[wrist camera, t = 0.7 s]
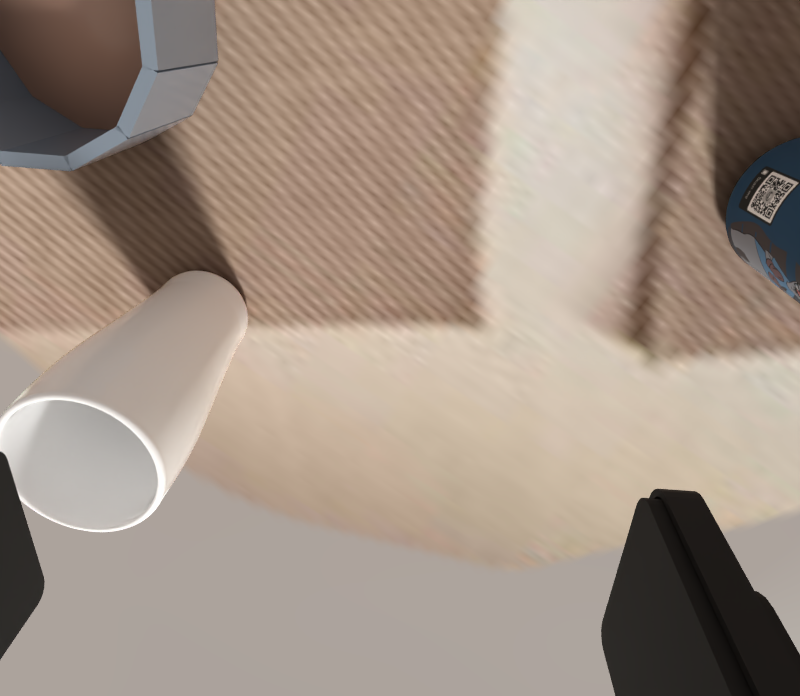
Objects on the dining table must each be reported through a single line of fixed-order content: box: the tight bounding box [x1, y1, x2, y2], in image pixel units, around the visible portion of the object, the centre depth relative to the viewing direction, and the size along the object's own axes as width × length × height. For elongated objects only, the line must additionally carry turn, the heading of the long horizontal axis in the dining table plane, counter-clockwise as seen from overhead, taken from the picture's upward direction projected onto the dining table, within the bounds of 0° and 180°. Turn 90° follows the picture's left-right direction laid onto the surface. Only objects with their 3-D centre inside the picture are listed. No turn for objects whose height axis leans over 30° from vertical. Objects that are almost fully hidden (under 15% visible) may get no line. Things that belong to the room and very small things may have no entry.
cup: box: [0, 0, 218, 171], centre depth 27 cm, size 11×11×8 cm
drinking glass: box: [0, 271, 248, 532], centre depth 30 cm, size 7×7×15 cm
